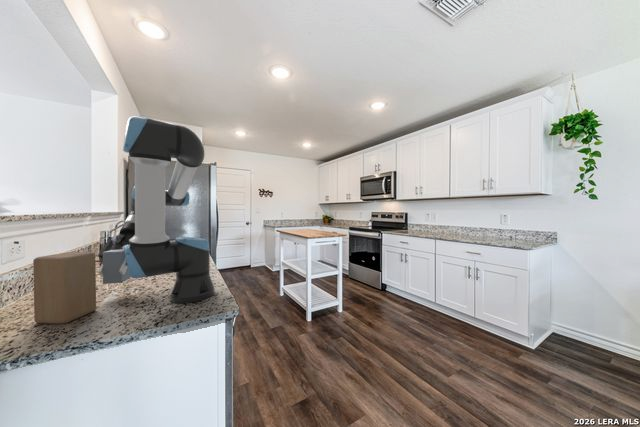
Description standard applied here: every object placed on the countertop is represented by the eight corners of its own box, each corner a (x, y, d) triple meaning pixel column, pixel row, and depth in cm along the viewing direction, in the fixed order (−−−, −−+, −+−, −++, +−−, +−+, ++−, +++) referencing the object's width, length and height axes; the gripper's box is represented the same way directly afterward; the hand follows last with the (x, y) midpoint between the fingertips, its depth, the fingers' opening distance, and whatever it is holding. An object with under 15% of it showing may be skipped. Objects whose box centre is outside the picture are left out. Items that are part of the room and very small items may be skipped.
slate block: (130, 278, 95) (129, 249, 95) (121, 282, 89) (121, 251, 89) (112, 279, 93) (112, 249, 93) (102, 284, 88) (102, 252, 87)
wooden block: (69, 310, 79) (68, 251, 79) (97, 310, 79) (97, 251, 79) (32, 324, 69) (31, 257, 69) (64, 325, 69) (63, 257, 69)
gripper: (160, 232, 108) (143, 276, 93) (111, 233, 104) (85, 280, 88) (155, 221, 103) (136, 266, 87) (103, 222, 98) (74, 269, 83)
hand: (111, 273), depth 88 cm, fingers closed on slate block, 6 cm apart
